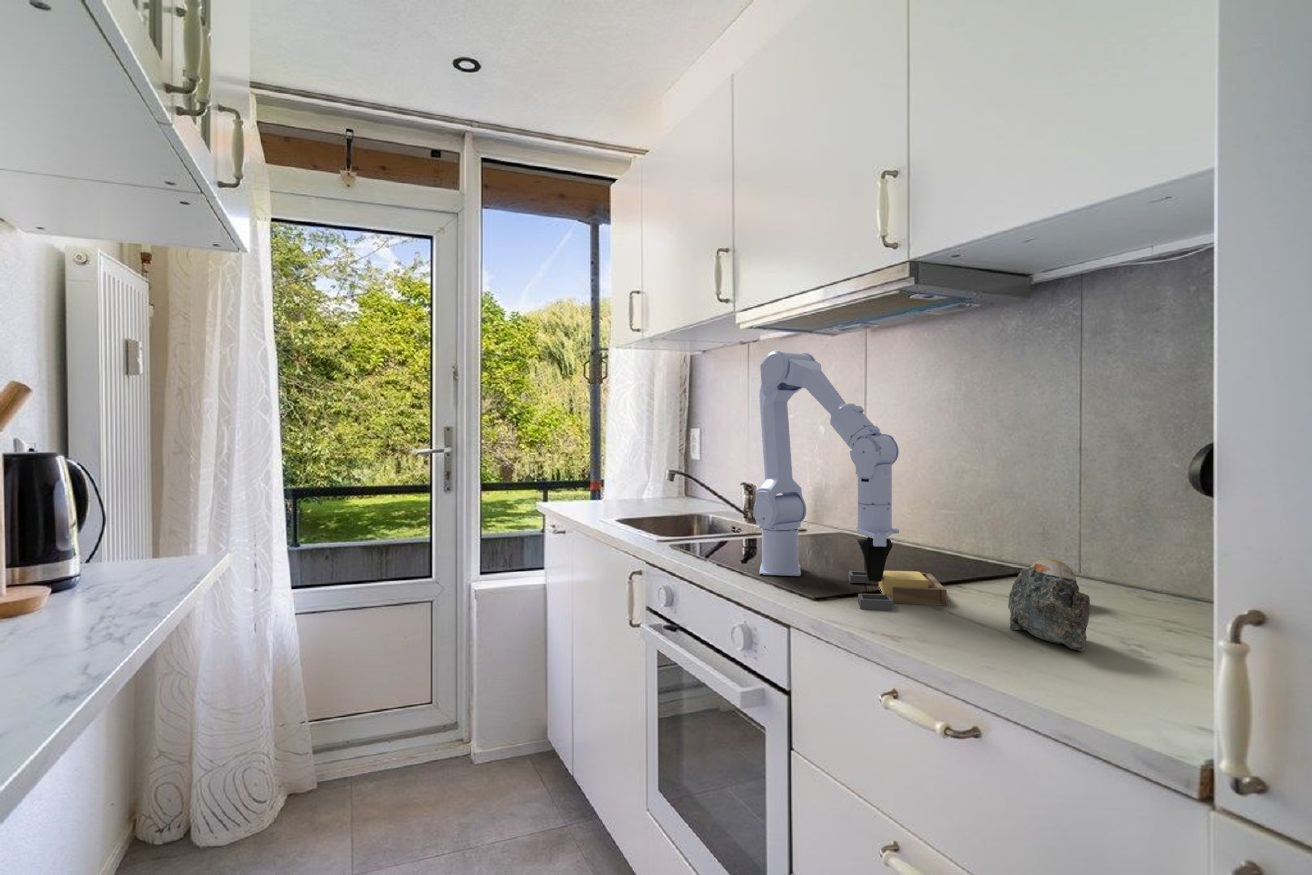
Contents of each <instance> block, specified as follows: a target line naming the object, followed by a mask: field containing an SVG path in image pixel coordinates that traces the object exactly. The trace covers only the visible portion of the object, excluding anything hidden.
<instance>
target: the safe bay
mask: <svg viewBox="0 0 1312 875" xmlns="http://www.w3.org/2000/svg"><path fill="white" fill-rule="evenodd" d="M920 573H921V574H922V575H923V576H924V577H925V578H926V579H927V580H928V588H912V587H893V598H892V600H893V604H904V605H905V604H907V605H928V606H929V605H930V606H932V605H933V606H947V601H948V600H947V597H948V596H947V588H945V587H944V586H943V585H942V584H941V583H940V582H939V581H938V580H937V578H936V577H935V576H934V575H933V574H932V573H930V572H929V573H928V572H920Z"/></svg>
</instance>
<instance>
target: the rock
mask: <svg viewBox="0 0 1312 875" xmlns="http://www.w3.org/2000/svg"><path fill="white" fill-rule="evenodd" d="M1077 582H1078V581H1077V579H1076V580H1074V579H1072V578H1071V579H1067V578H1062V577H1058V576H1054V575H1050V574H1047V573H1043V572H1039V571H1037V570H1036V568H1035V567H1031V566H1030V567H1028V568H1023V569H1021V570H1020V573H1018V574H1017V577H1016V578H1015V579H1014V582H1013V584H1012V586H1011V587H1012V588H1011V590H1010V592H1009V594H1008V606H1007V607H1008V608H1007V609H1008V610H1009V612H1010V614H1009V629H1010V630H1012V631H1016V630H1018V631H1019V630H1020V631H1021V630H1025V631H1027V632H1028V633H1029V634H1031V635H1032V636H1034V637H1036V638H1039V639H1041V640H1043V641H1048V642H1050V643H1053V644H1058V645H1062V644H1064V645H1065V646H1067V647H1068V648H1069V649H1072V650H1076V651H1079V652H1084V651H1085V649H1086V647H1087V627H1088V625H1089V619H1090V614H1091V599H1090V596H1089V595H1088V594H1085V593H1083V592H1080V587H1079V585H1078V583H1077Z"/></svg>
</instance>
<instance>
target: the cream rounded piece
mask: <svg viewBox="0 0 1312 875" xmlns="http://www.w3.org/2000/svg"><path fill="white" fill-rule="evenodd" d="M1030 567H1035V568H1036V570H1037V571H1039V572H1043V573H1047V574H1050V575H1054V576H1058V577H1062V578H1067V579H1071V578H1072V579H1074V580H1076V581H1077V578H1076V575H1075V573H1074V571H1073V569H1072V568H1071V567H1070V566H1069V565H1067V564H1066V563H1064V562H1062V561H1061V560H1058V559H1052V558H1045V559H1040V560H1036V561H1035V562H1033V564H1032V565H1030Z"/></svg>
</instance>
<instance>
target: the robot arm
mask: <svg viewBox="0 0 1312 875" xmlns="http://www.w3.org/2000/svg"><path fill="white" fill-rule="evenodd" d="M759 368H760V382H761V384H760V389H759V410H760V423H761V424H760V425H761V439H762V454H763V466H764V468H763V470H764V481H763V482H762V483H761V485H759V486H758V487H757V489H756V490H755V502H754V504H753V510H752V511H753V516H754V519H755V522H756V523H757V524H758V525H759V529H761V563H760V567H759V573H758V574H759V575H760V574H763V575H762V576H787V577H789V576H790V577H801V574H802V571H801V565H800V564H799V528H801V523H802V522H803V521H804V520H805V518H806V515H807V504H806V502H805V499H804V498H803V493H802V487H801V486H800V485H799V484H798V483H797V482H796V481H795V480H794V478H793V465H792V464H793V463H792V453H791V439H790V438H791V437H790V423H789V411H788V410H789V409H788V408H789V407H788V402H789V400H790V399H792V397H793V395H795V394H796V393H798V392H799V391H801V390H802V389H805V390H807V391H808V393H809V394H810V395H811V396H812V397H813V398H814V399H815V401H817V402H818V403H819V405H821V406H822V408H824V410H825V411H827V413H828V414H829V415H830V419H829V420H830V421H829V422H830V423H829V424H830V426H831V427H832V428H833V430H834V431H835V432H836V433H837V434H838V435H839V436H840V437H841V438H840V439H842V441H844V442H845V443H846V446H848V447H849V449H850V451H849V455H850V459H851V461H852V463H853V464H854V467H855V474H856V477H857V527H856V533H857V534H858V535H863V536H866V538H859V539H857V540H856V542H857V543H858V545H859V547H860V551H861V553H862V556H863V557H862V558H863V562H864V566H865V572H866V573H867V577H868V580H869V581H874V582H878V583H879V582H881V580H882V577H883V573H884V571H885V566H886V562H887V559H888V556H889V554H890V552H891V550H892V548H893V546H894V544H893V543H892V540H891V539H890V538H889V537H890V536H892V535H893V534H896V535H897V534H899V533H900V529H899V528H898V527H893V526H892V525H893V524H892V522H893V517H892V516H893V515H892V514H893V508H892V506H893V499H892V498H893V494H892V492H893V481H892V480H893V465H894V464H895V463H896V461H897V460H898V458H899V453H900V450H899V446H898V443H897V442H896V440H895V438H894V436H892V435H890V434H887V433H882V432H881V430H880V428H879V426H878V425H874V424H873V423H872V421H871V420H870V419H869V417H867V416H866V414H864V412H865V409H864V408H863V407H862V406H861V405H857V404H856V403H847V402H846V401H845V399H843V397H842V396H841V394H840V393H839V392H838V390H836V388H835V387H834V385H833V384H832V382H830V380H829V379H828V377H827V375H826V374H825V372H823V370H822V365H821V363H820V362H818V361H817V359H816V358H815V357H814V355H812V354H810V353H809V352H807V353H806V352H804V353H803V352H802V353H799V352H798V353H797V352H787V351H780V350H773V351H771V352H769V353H768V354H767V355H766V357H765V358H764V360H762V362H761V363H760V366H759ZM779 494H780V495H779Z"/></svg>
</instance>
